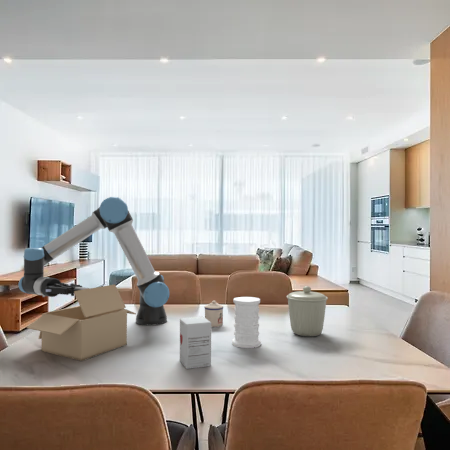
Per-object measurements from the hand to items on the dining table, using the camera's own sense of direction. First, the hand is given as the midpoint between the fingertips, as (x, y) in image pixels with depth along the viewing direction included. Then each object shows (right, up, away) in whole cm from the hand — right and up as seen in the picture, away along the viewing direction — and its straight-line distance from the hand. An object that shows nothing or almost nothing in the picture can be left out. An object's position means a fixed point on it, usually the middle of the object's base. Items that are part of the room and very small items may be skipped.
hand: (87, 291), depth 145 cm
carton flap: (+8, -8, -3) cm, 12 cm away
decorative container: (+61, -23, +9) cm, 66 cm away
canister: (+89, -23, +25) cm, 95 cm away
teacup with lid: (+47, -23, +40) cm, 66 cm away
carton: (-4, -22, +4) cm, 23 cm away
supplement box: (+42, -23, -14) cm, 49 cm away
